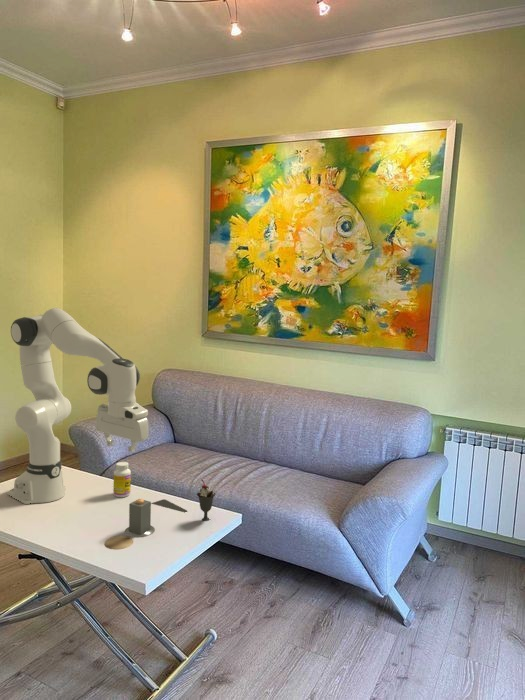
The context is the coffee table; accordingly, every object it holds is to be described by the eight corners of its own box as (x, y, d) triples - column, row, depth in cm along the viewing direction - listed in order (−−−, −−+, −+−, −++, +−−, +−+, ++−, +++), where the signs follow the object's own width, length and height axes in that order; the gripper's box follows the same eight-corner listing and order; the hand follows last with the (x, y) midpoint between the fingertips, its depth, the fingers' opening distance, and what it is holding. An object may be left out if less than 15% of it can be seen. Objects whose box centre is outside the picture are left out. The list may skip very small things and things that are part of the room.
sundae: (196, 517, 186) (197, 477, 185) (214, 517, 187) (216, 477, 185) (195, 525, 180) (196, 483, 178) (214, 525, 180) (215, 484, 179)
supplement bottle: (125, 498, 201) (126, 467, 200) (110, 496, 202) (110, 465, 201) (133, 492, 207) (133, 462, 206) (118, 490, 209) (118, 460, 207)
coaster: (98, 546, 162) (98, 544, 162) (118, 535, 170) (118, 533, 170) (119, 553, 158) (119, 551, 158) (139, 542, 166) (139, 540, 166)
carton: (129, 531, 171) (129, 501, 170) (139, 526, 176) (139, 496, 175) (140, 535, 169) (141, 504, 168) (150, 529, 174) (150, 499, 173)
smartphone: (173, 516, 185) (148, 503, 195) (172, 519, 185) (148, 506, 195) (188, 510, 191) (164, 498, 201) (188, 513, 191) (164, 500, 201)
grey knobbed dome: (118, 534, 170) (118, 520, 170) (138, 523, 179) (138, 509, 179) (141, 541, 166) (141, 527, 165) (160, 530, 175) (161, 516, 174)
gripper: (91, 404, 169) (90, 444, 171) (139, 415, 160) (137, 457, 162) (105, 401, 175) (104, 439, 177) (152, 411, 166) (150, 452, 168)
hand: (120, 448), depth 169 cm, fingers open, 8 cm apart
